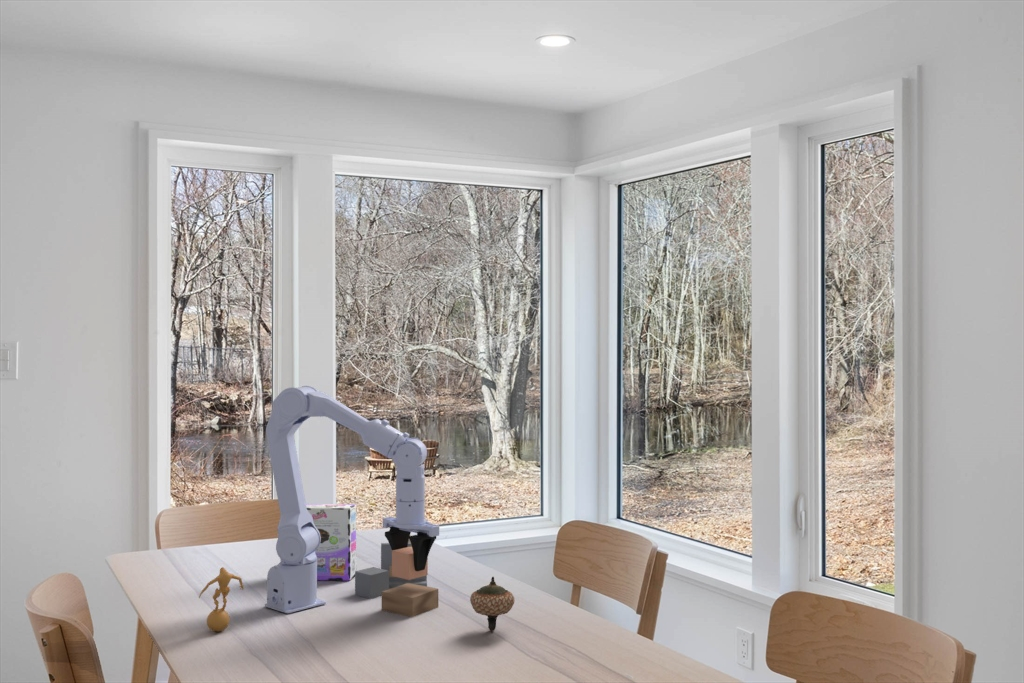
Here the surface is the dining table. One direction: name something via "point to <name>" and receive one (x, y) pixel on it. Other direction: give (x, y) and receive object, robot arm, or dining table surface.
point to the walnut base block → (409, 599)
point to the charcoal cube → (371, 582)
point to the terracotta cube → (406, 564)
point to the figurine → (218, 616)
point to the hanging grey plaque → (387, 565)
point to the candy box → (335, 540)
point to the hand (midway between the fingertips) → (410, 568)
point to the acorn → (492, 602)
